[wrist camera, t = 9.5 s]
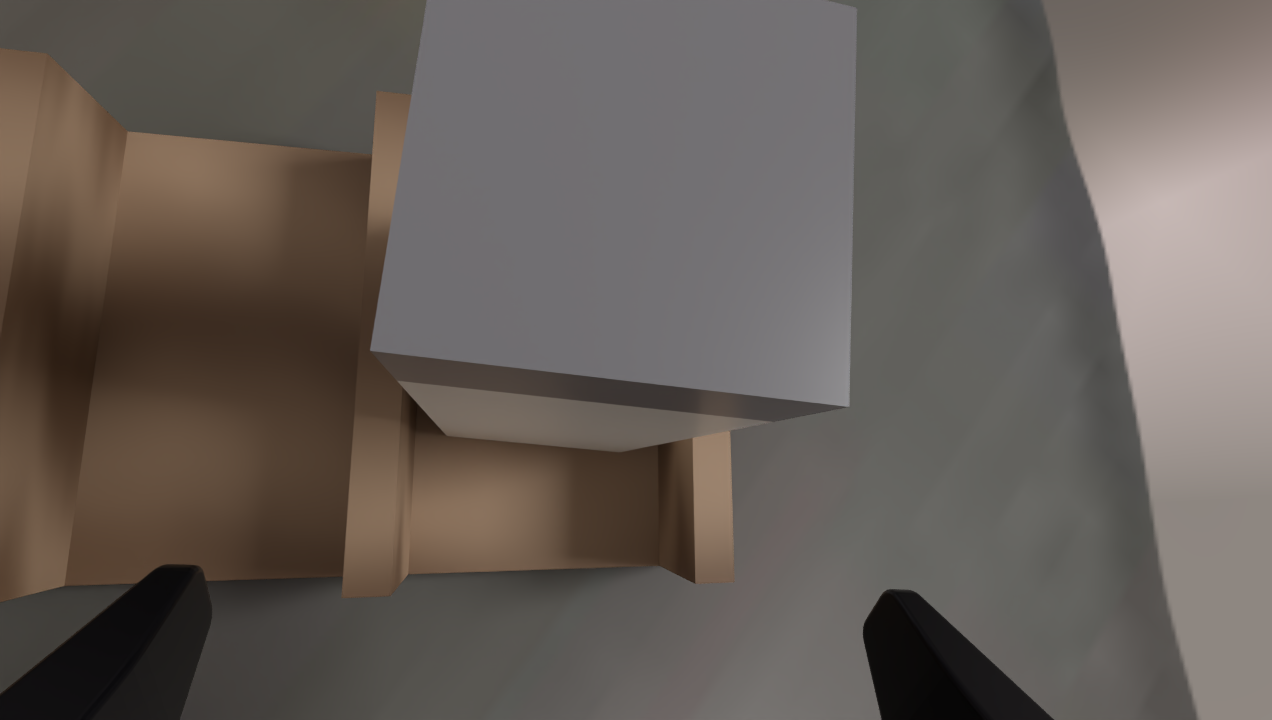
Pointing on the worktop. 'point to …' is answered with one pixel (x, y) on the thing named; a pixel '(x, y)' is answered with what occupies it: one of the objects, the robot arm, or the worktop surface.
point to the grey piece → (623, 219)
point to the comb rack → (263, 380)
